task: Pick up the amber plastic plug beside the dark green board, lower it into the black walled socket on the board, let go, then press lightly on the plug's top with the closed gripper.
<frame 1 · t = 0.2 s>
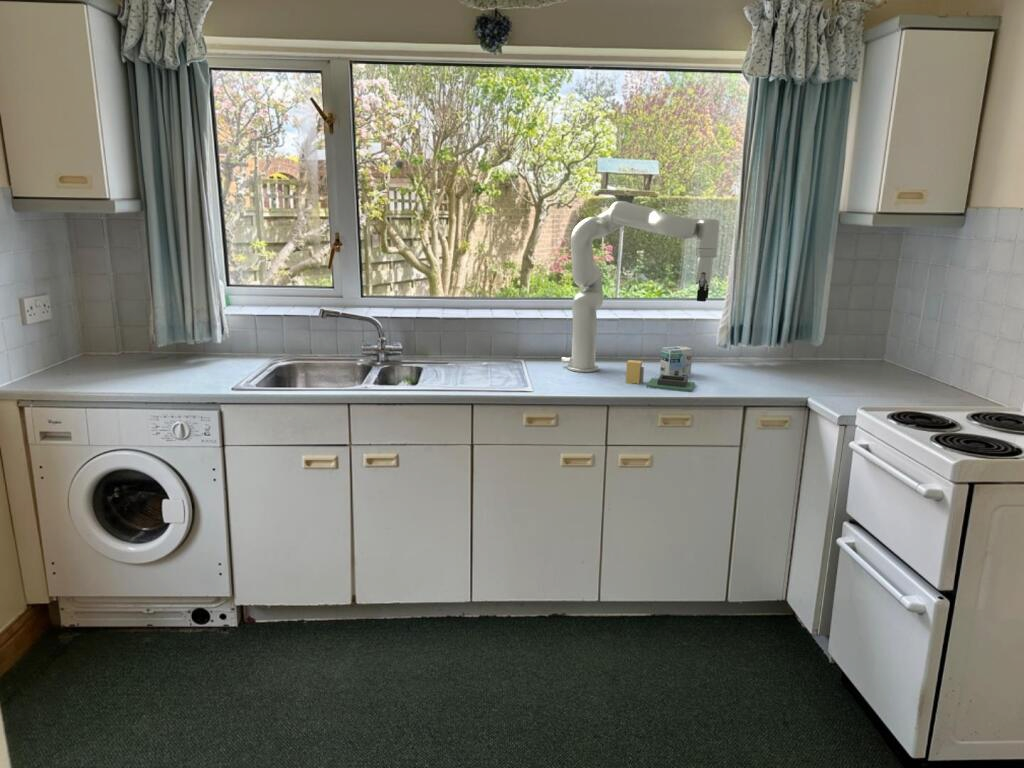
hand: (702, 299, 272), 31 cm above the counter, tool pointing down, fingers open, 9 cm apart
keyed plug: (633, 382, 274), on the counter
light bulb box: (675, 375, 288), on the counter
header board: (670, 386, 269), on the counter
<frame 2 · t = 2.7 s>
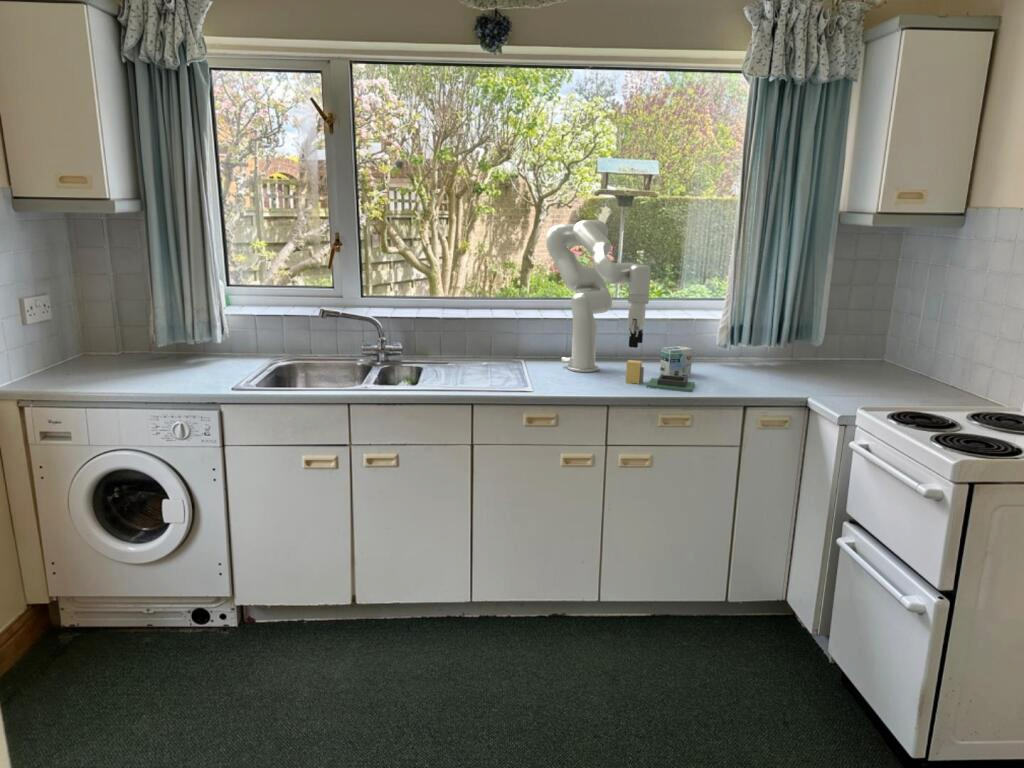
hand: (635, 344, 270), 14 cm above the counter, tool pointing down, fingers open, 9 cm apart
nothing on the counter moved.
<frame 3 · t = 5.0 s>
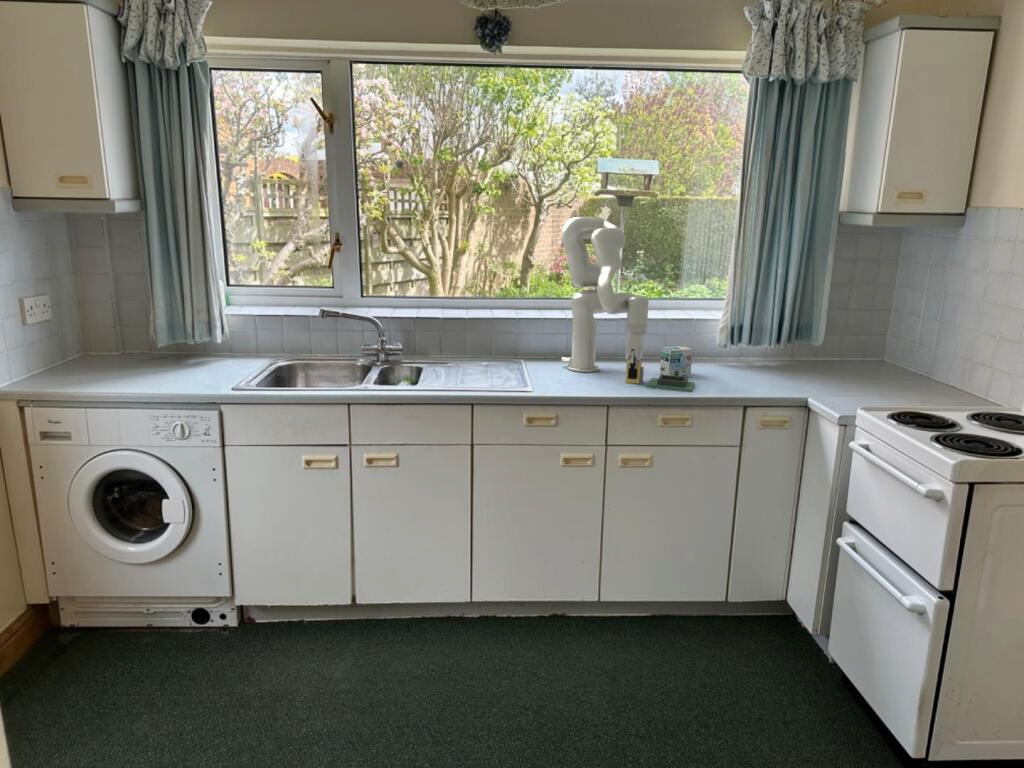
hand: (633, 376, 273), 2 cm above the counter, tool pointing down, fingers closed on keyed plug, 3 cm apart
keyed plug: (633, 382, 274), on the counter, touching gripper
everything else where it was.
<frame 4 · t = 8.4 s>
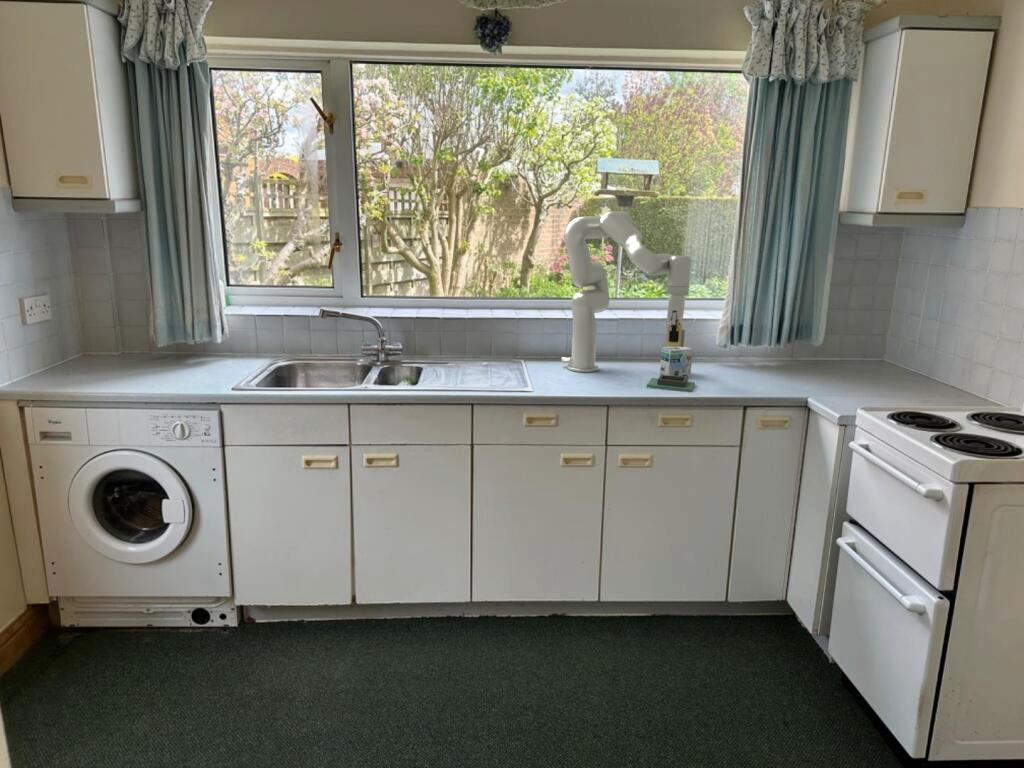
hand: (674, 340, 265), 17 cm above the counter, tool pointing down, fingers closed on keyed plug, 4 cm apart
keyed plug: (673, 345, 266), point 15 cm above the counter, touching gripper
everything else where it was.
when the fingers open (4 cm above the counter, at t = 11.8 s): keyed plug drops 1 cm, resting on header board.
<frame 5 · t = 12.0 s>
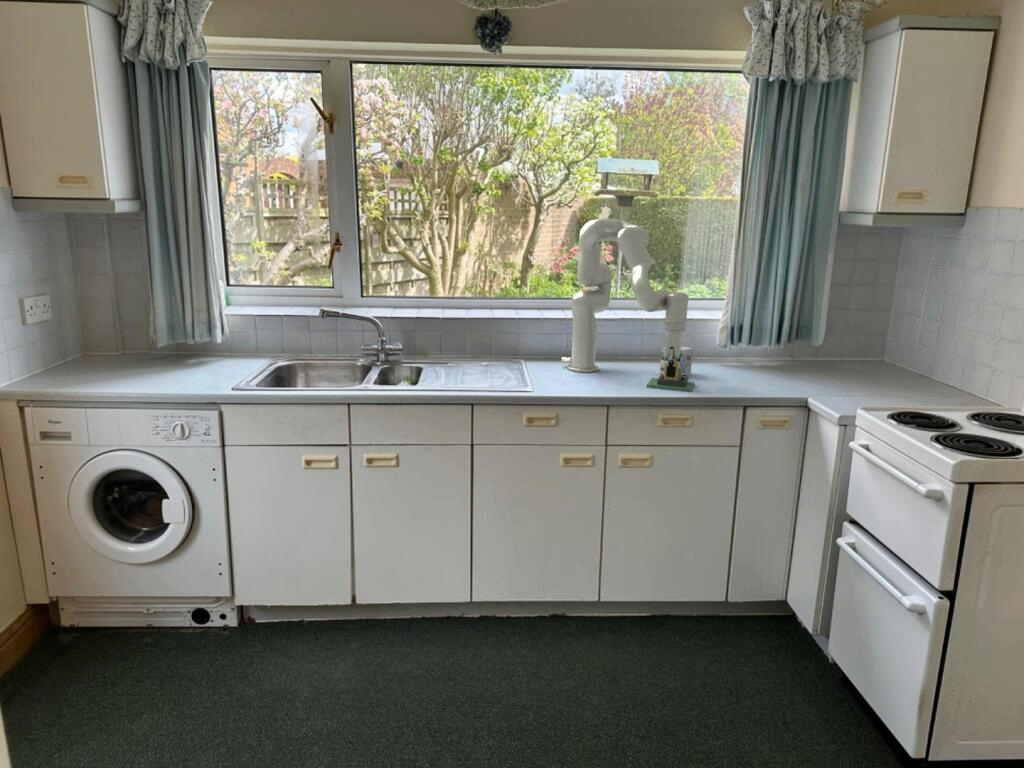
hand: (671, 374, 268), 4 cm above the counter, tool pointing down, fingers open, 6 cm apart
keyed plug: (670, 383, 269), point 1 cm above the counter, touching header board
everything else where it was.
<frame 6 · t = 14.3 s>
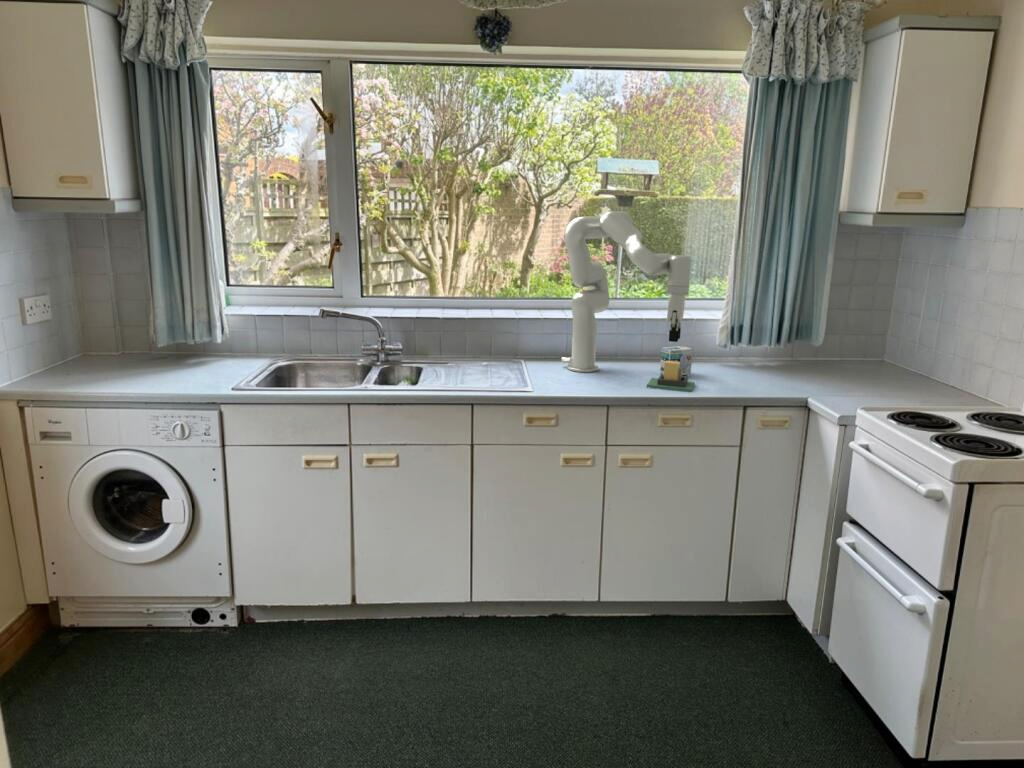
hand: (674, 339, 265), 17 cm above the counter, tool pointing down, fingers open, 5 cm apart
nothing on the counter moved.
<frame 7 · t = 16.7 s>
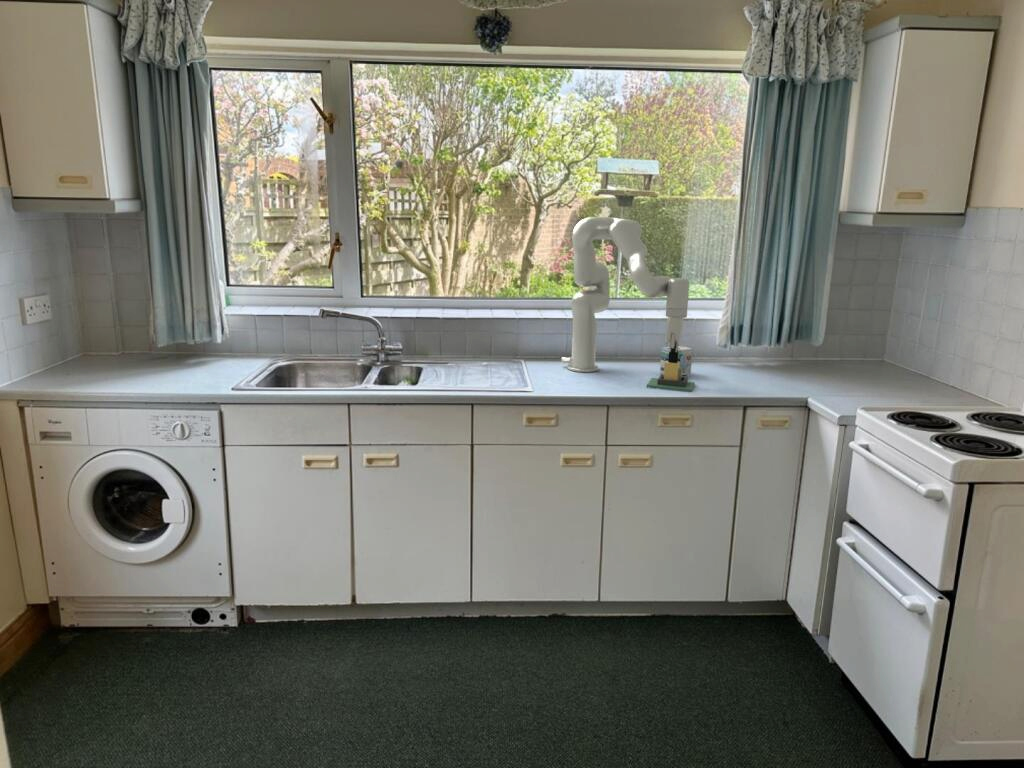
hand: (672, 362, 267), 9 cm above the counter, tool pointing down, fingers closed
keyed plug: (670, 383, 269), point 1 cm above the counter, touching gripper, header board
everything else where it was.
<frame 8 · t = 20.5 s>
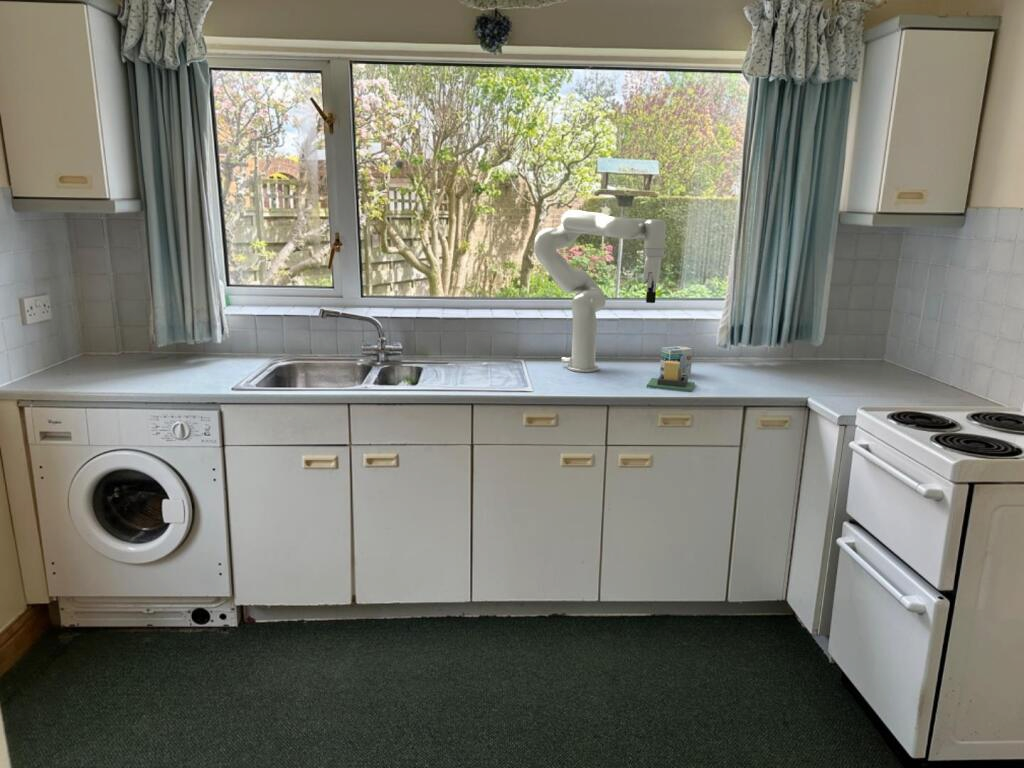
hand: (650, 302, 275), 29 cm above the counter, tool pointing down, fingers closed
keyed plug: (670, 383, 269), point 1 cm above the counter, touching header board
everything else where it was.
at the end: keyed plug 0.1 cm off-centre on the header board, point 1.0 cm above the header board's base; keyed plug tilted 0°; the gripper is holding nothing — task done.
